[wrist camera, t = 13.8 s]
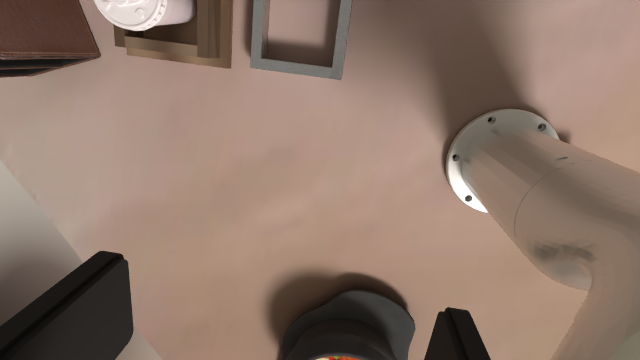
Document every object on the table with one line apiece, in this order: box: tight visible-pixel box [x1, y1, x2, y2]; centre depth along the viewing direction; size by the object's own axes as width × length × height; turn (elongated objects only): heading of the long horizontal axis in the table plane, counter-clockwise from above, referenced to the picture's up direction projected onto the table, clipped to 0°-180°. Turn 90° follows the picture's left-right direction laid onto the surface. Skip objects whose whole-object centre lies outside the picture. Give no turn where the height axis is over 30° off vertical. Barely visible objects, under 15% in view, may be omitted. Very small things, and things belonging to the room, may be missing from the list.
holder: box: [250, 0, 352, 80], centre depth 37 cm, size 10×10×2 cm
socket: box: [114, 0, 233, 68], centre depth 37 cm, size 12×12×4 cm
